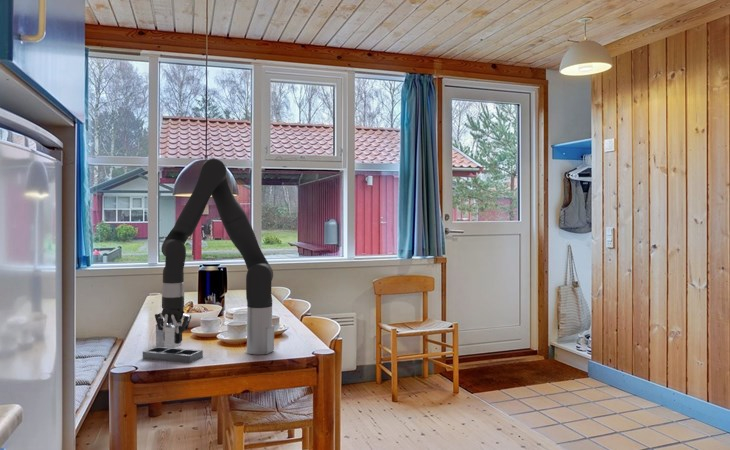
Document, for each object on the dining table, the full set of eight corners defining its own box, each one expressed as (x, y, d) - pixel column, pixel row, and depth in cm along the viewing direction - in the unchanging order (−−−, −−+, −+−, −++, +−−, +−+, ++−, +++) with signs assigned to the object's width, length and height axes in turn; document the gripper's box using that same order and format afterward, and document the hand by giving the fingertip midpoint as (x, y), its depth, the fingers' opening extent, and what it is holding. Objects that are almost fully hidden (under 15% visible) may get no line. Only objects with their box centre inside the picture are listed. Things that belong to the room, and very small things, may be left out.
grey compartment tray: (202, 356, 185) (202, 350, 185) (189, 362, 177) (189, 356, 177) (156, 352, 190) (156, 346, 190) (142, 358, 182) (142, 351, 182)
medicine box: (165, 347, 198) (165, 324, 198) (155, 346, 199) (155, 324, 199) (177, 342, 206) (177, 320, 206) (167, 341, 207) (167, 320, 207)
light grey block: (181, 345, 185) (181, 325, 185) (174, 347, 181) (174, 328, 181) (171, 344, 186) (171, 325, 186) (164, 346, 182) (164, 327, 182)
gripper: (196, 294, 185) (196, 341, 186) (162, 292, 189) (162, 338, 189) (184, 297, 178) (183, 346, 178) (149, 295, 182) (148, 343, 182)
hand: (172, 342), depth 184 cm, fingers closed on light grey block, 4 cm apart
